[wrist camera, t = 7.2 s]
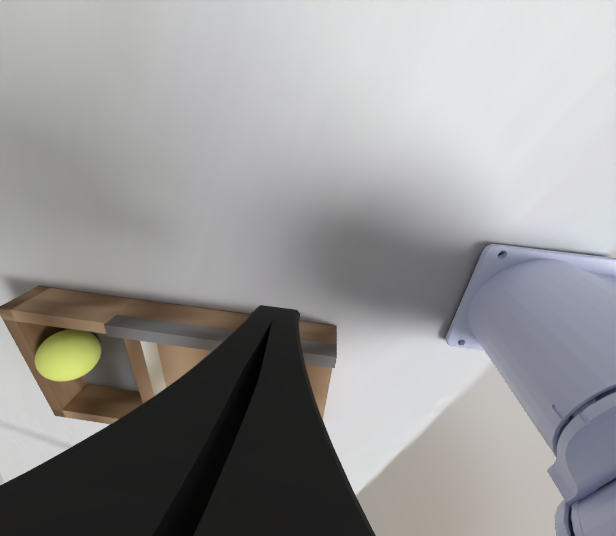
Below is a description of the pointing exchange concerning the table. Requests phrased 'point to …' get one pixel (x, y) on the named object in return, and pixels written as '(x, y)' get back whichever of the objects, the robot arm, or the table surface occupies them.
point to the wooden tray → (138, 347)
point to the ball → (68, 355)
